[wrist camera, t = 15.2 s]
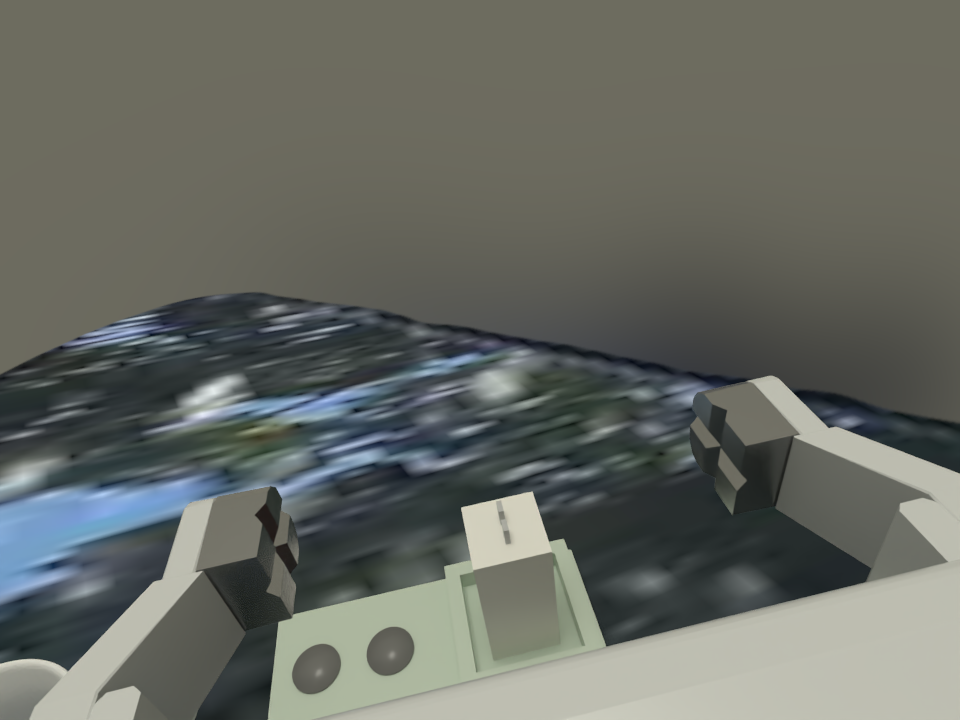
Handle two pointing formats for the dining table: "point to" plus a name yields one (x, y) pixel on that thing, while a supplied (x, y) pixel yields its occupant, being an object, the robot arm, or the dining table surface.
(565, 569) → the green desk organizer
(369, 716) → the robot arm
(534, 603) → the charger
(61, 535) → the dining table surface
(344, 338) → the dining table surface
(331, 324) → the dining table surface
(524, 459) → the dining table surface
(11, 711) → the mug
